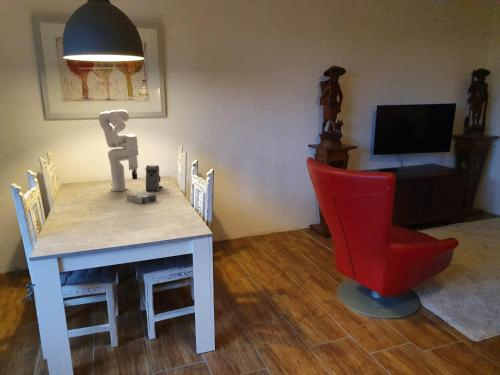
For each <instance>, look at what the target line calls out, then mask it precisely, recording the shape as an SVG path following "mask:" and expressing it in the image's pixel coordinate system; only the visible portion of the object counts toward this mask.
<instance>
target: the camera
mask: <svg viewBox="0 0 500 375" xmlns="http://www.w3.org/2000/svg"><path fill="white" fill-rule="evenodd" d="M160 183H161V176H160V166H159V165H158V164H157V165H155V164H154V165H153V164H151V165H146V167H145V192H149V193H152V192H154V193H155V192H157V193H158V192H159V190H160V188H163V186H162V185H161V186H160Z"/></svg>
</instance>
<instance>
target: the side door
mask: <svg viewBox="0 0 500 375" xmlns="http://www.w3.org/2000/svg"><path fill="white" fill-rule="evenodd" d="M126 200H127V201H131V202H134V203H139V204H141V205H145V204H144V200H143V197H139V196H135V195H134V194H130V193H126Z"/></svg>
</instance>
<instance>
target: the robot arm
mask: <svg viewBox="0 0 500 375" xmlns="http://www.w3.org/2000/svg"><path fill="white" fill-rule="evenodd" d="M129 115H130V114H129V112H128V111H127V110H126V109H117V110H115V109H114V110H111V111H103V112H100V113H99V114H98V122H99V125H100V127H101V129H102V130H103V133H104V138H105V141H106V144H107V146H108V148H111V149H110V150H109V151H107V152H108V153H107V157H108V161H109V164H110V172H111V173H110V174H111V183H110V186H111V188H110V191H112V192H123V191H127V190H128V189H129V187H128V186H126V176H125V167H124V164H123V163H121V162H123V161H128V170H129V171H131V178H132V180H133V181H134V180H138V173H137V172H138V163H139V162H138V156H139V148H138V147H139V146H138V137H137V135H136V134H133V133H128V134H125V133H124V134H123V133H122V134H118V133H121V132H122V131H124V130H125V129H126V127H127V126H126V123H125V122H128V121H129V119H130V116H129Z"/></svg>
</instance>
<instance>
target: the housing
mask: <svg viewBox="0 0 500 375" xmlns="http://www.w3.org/2000/svg"><path fill="white" fill-rule="evenodd" d="M133 195H135V196H139V197H143V200H144V204H143V205H147V204H151V203H153V202H156V201H157V194H156V193H152V192H147V191H142V192H138V193H135V194H133Z"/></svg>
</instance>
